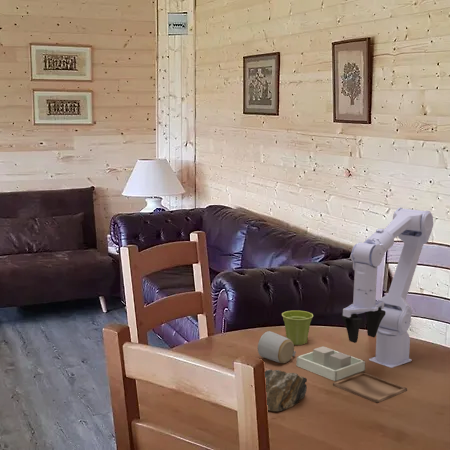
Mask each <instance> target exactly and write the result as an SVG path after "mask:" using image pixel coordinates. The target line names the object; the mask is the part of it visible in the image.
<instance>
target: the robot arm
mask: <svg viewBox="0 0 450 450" xmlns="http://www.w3.org/2000/svg"><path fill="white" fill-rule="evenodd" d="M433 227H434V217H433V214H432V211H430V210H420V209H413V208H411V209H410V208H403V207H397V209H396V210H395V211H393V216H392V220H391V221H390V222H389V223H388V225H387V226H386V227H385V228H377V229H376V231H374V233H371V235H370V236H369V237H368V238H367V239H365V241H363V242H362V241H361V242H360V241H359V242H358V243H356V244H354V245H353V247H352V248H351V249H352V250H351V253H350V260H351V262H352V270H353V271H354V278H353V279H354V280H353V299H352V300H353V302H352V303H351V304H349V305H348V306H347V307H345V308H343V309H342V313H341V319H342V321H343V323H344V325H345V328H346V333H347V338H348V341H349V342H351V343H354V344H356V343H357V342H358V339H359V332H360V327H361V325H362V322H363V318H362V317H359V316H358V315H359V314H364V313H365V317H366V332H367V336H368V337H371V338H376V339H375V340H376V341H375V356H374V357H370V358H368V361H369V362H370V361H371V362H373V363H376V364H378V365H382V366H384V367H388V368H391V369H393V368H395V367H399V366H401V365H404V364H408V363H410V362H411V361H412V358H410V346H411V337H410V334H409V332H408V330H409V328H410V326H411V321H412V314H413V309H412V307H411V306H410V304H409V303H408V301H407V296H408V295H409V294H408V293H409V290H410V287H411V285H412V281H413V278H414V275H415V272H416V268H417V266H418V263H419V260H420V256H421V253H422V250H423V247H424V245H425V244H426V243H428V242H429V240H430V236H431V234H432V230H433ZM397 237H398V239H399V240H401V241H402V242H403V246H402V250H401V253H400V256H399V260H398V262H397V264H396V269H395V270H394V271H395V272H394V274H393V278H392V279H391V283H390V287H389V289H388V293H387V294H386V295H384V296H382V297H379V298H378V299H376V298H377V283H378V281H377V280H378V267H379V266H380V265H381V263H382V261H383V258H384V256H385V254H386V253H387V251H389V249H391V248H392V246H394V243H395V239H396V238H397Z"/></svg>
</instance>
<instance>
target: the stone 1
mask: <svg viewBox="0 0 450 450" xmlns="http://www.w3.org/2000/svg"><path fill="white" fill-rule="evenodd" d="M312 350H313V351H312V352H313V362H314V363H317V364H320V365H322V366H325V367H329V360H330V355H332V354H334V350H335V349H332V348H329V347H326V346H323V345H322V346H320V347H316V348H313V349H312Z"/></svg>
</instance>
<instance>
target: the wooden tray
mask: <svg viewBox="0 0 450 450" xmlns="http://www.w3.org/2000/svg"><path fill="white" fill-rule="evenodd" d="M332 386H333V387H334V388H335V387H336V388H338V389H341V390H343V391H345V392H348V393H350V394H353V395H356V396H357V397H361V398H362V399H366V400H367V401H371V402H373V403H375V404H378V403H381V402H384V401H385V400H388V399H391V398H394V397H395V396H397V395H400V394H402V393H404V392H405V393H406V392H407V391H408V387H405V386H403V385H400V384H398V383H394V382H392V381H389V380H386V379H383V378H381V377H378V376H376V375H372V374H370V373H367V372H365V371H362V372H359V373H356V374H354V375H351V376H348V377H346V378H343V379H340V380H337V381H334V382H333V383H332Z"/></svg>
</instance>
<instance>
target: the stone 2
mask: <svg viewBox="0 0 450 450" xmlns="http://www.w3.org/2000/svg"><path fill="white" fill-rule="evenodd" d="M349 365H351V355H349V354H346V353H343V352H341V351H338V353H335V354H332V355H330V360H329V368H330V369H333V370H338V369H341V368H343V367H346V366H349Z"/></svg>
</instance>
